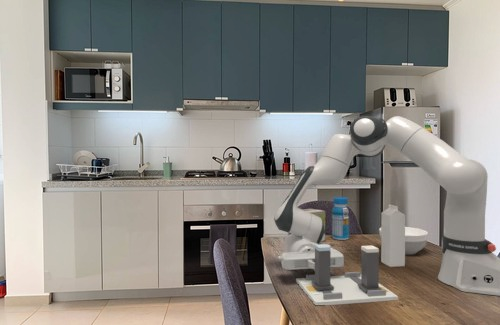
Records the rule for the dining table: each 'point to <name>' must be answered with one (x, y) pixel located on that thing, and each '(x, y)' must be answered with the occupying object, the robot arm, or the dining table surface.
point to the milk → (393, 237)
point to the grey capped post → (322, 268)
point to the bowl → (413, 239)
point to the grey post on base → (369, 268)
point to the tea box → (319, 214)
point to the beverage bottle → (340, 219)
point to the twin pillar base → (344, 291)
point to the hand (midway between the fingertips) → (320, 267)
